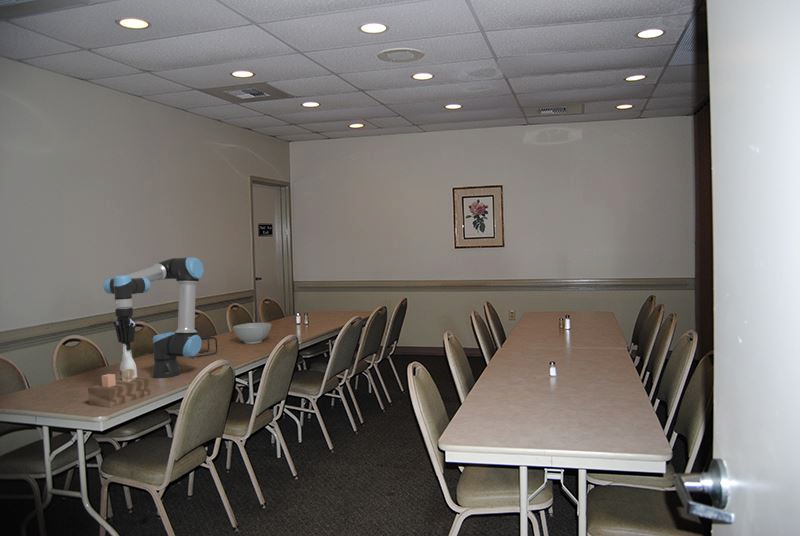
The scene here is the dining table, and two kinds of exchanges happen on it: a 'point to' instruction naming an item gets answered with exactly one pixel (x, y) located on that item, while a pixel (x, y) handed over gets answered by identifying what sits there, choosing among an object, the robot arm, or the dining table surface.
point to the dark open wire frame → (208, 344)
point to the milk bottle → (127, 364)
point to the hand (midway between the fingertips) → (126, 357)
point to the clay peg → (108, 380)
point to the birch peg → (128, 375)
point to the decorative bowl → (252, 332)
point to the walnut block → (118, 392)
